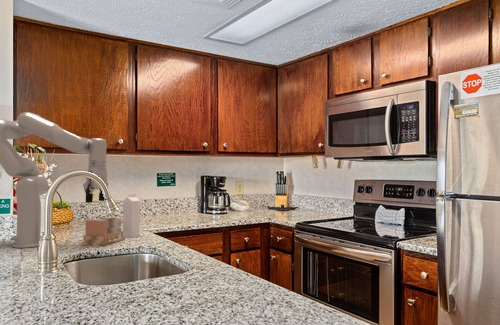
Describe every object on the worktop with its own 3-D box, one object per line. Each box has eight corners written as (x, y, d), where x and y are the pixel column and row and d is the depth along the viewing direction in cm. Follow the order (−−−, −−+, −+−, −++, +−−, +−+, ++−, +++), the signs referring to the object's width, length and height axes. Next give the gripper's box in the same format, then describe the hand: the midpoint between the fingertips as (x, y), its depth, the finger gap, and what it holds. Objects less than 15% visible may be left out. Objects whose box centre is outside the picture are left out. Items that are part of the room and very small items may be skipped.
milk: (122, 237, 201) (122, 194, 201) (131, 235, 206) (131, 193, 207) (131, 238, 198) (131, 194, 199) (139, 236, 204) (140, 194, 204)
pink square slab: (85, 241, 180) (85, 220, 180) (88, 241, 182) (88, 219, 182) (104, 242, 178) (104, 221, 178) (107, 242, 180) (107, 220, 180)
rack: (80, 245, 178) (81, 220, 179) (103, 238, 196) (104, 216, 196) (103, 246, 176) (104, 221, 176) (125, 239, 193) (125, 217, 193)
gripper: (92, 164, 171) (91, 203, 171) (114, 165, 188) (113, 200, 188) (77, 164, 173) (76, 202, 173) (101, 165, 190) (99, 200, 190)
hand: (95, 201), depth 180 cm, fingers open, 9 cm apart
